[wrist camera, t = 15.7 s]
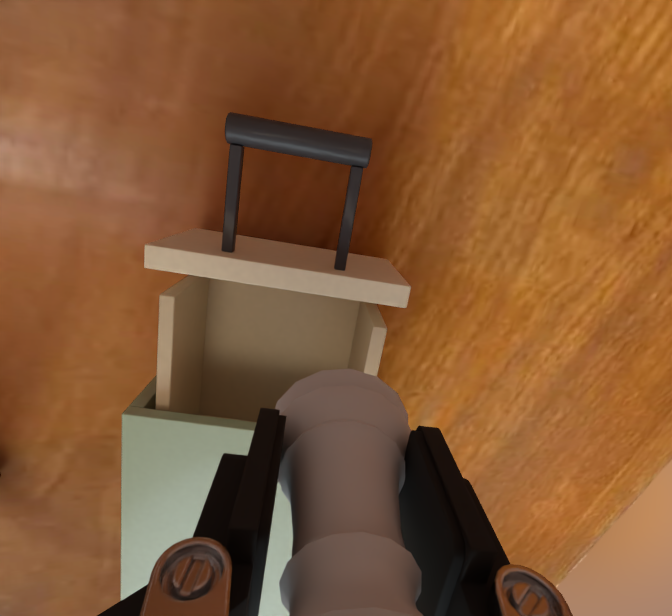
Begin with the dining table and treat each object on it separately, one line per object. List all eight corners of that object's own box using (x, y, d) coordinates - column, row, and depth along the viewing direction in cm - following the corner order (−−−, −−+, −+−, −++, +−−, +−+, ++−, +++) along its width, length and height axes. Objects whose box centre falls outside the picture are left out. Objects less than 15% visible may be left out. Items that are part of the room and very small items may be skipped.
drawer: (201, 120, 24) (147, 92, 17) (408, 159, 25) (443, 147, 18) (183, 412, 31) (138, 485, 23) (351, 433, 32) (359, 510, 24)
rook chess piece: (360, 495, 14) (408, 877, 6) (247, 444, 13) (143, 811, 5) (432, 399, 13) (595, 720, 5) (313, 337, 12) (299, 608, 4)
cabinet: (183, 343, 30) (121, 413, 21) (370, 370, 31) (389, 447, 22) (174, 505, 34) (119, 621, 25) (337, 523, 35) (341, 641, 26)
